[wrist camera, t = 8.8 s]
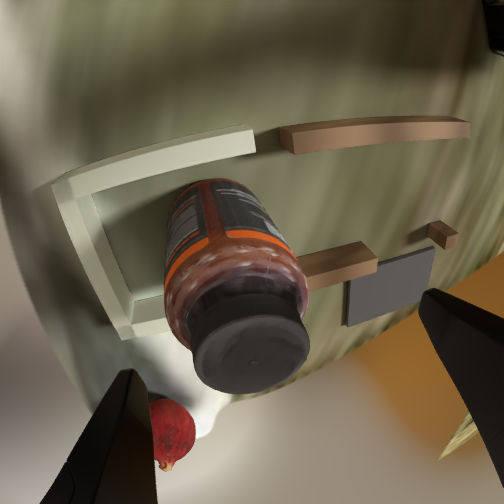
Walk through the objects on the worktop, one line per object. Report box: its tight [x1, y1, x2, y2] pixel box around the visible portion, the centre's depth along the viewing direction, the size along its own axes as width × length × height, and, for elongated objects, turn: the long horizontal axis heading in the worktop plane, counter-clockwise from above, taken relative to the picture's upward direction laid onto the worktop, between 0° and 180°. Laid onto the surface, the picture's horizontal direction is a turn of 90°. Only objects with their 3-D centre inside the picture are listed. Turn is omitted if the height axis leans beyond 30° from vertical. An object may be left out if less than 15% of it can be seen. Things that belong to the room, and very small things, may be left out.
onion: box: [149, 398, 196, 472], centre depth 24 cm, size 6×6×8 cm
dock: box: [51, 124, 256, 340], centre depth 18 cm, size 11×11×2 cm
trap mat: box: [346, 246, 435, 327], centre depth 25 cm, size 9×6×1 cm, turn 99°
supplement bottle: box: [164, 178, 310, 394], centre depth 14 cm, size 6×6×11 cm
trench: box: [278, 116, 470, 291], centre depth 19 cm, size 14×10×2 cm
